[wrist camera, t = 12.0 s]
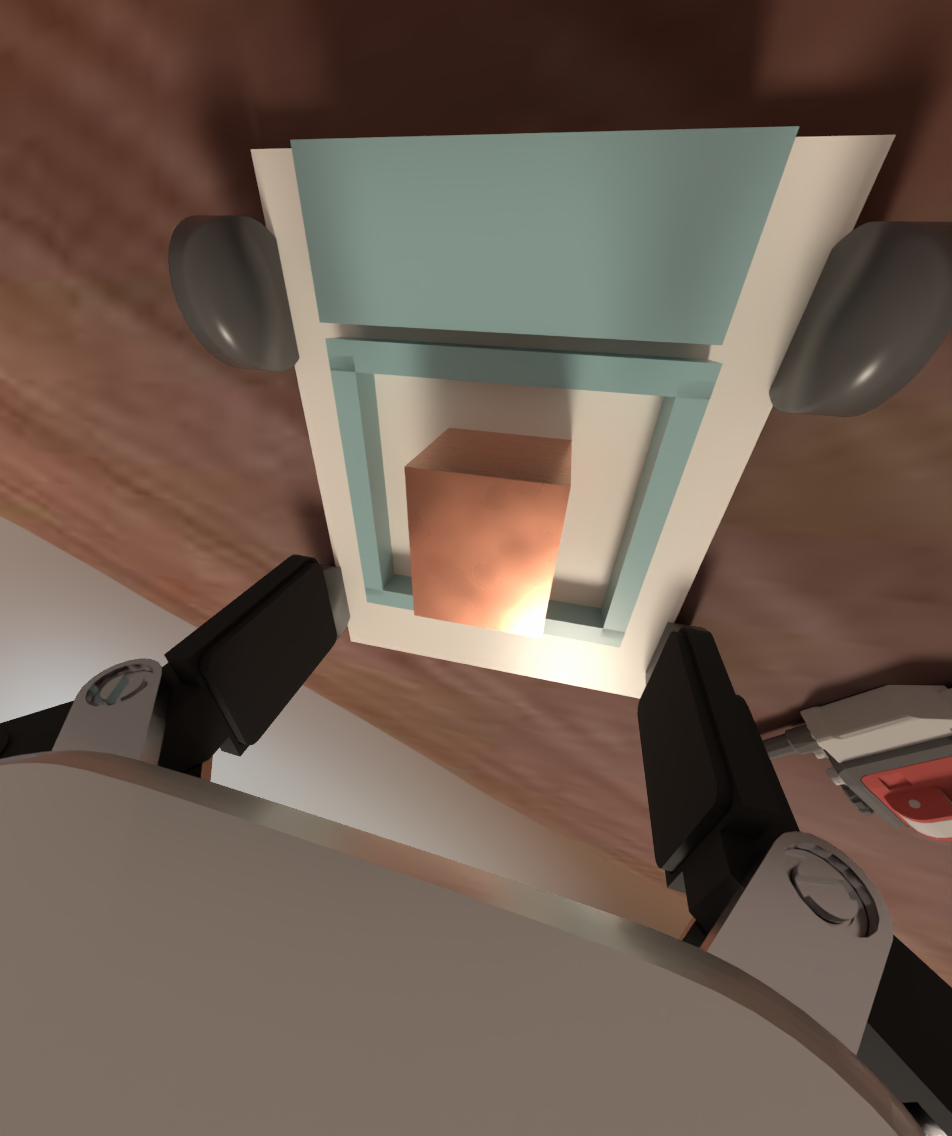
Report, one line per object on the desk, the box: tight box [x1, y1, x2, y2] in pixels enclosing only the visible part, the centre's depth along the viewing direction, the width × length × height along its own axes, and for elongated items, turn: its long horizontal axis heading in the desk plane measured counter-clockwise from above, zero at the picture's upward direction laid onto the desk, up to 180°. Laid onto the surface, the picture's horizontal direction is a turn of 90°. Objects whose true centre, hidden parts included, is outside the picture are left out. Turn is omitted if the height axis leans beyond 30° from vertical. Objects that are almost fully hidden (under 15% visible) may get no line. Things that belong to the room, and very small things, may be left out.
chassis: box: [168, 126, 952, 698], centre depth 16 cm, size 21×22×4 cm
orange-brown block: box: [404, 428, 572, 638], centre depth 15 cm, size 5×6×5 cm
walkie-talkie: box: [762, 685, 952, 841], centre depth 19 cm, size 9×4×20 cm
